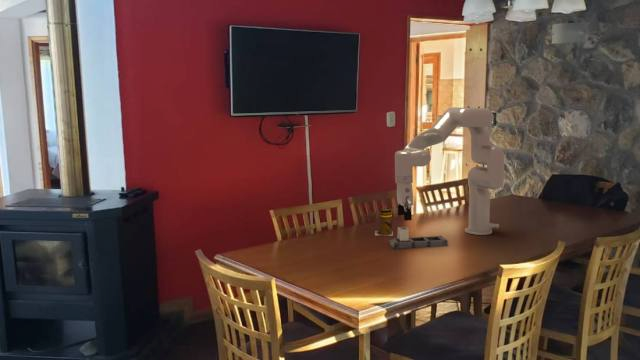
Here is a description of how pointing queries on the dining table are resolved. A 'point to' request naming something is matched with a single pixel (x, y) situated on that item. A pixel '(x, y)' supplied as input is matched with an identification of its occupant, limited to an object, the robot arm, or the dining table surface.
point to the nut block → (403, 234)
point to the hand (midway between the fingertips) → (404, 217)
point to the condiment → (385, 223)
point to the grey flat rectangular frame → (419, 242)
